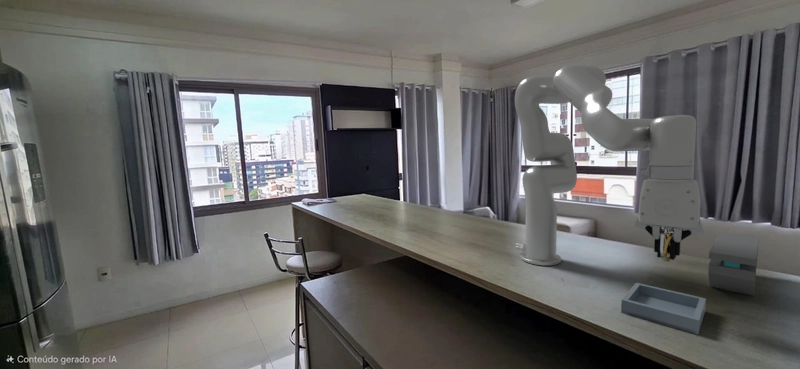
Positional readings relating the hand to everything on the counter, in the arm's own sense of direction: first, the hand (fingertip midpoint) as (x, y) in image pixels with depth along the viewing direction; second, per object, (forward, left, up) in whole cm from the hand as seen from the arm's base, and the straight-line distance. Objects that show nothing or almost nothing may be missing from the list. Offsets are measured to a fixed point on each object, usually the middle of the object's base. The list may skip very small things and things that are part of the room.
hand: (666, 256), depth 72 cm
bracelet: (0, 0, -1) cm, 1 cm away
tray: (0, 0, -13) cm, 13 cm away
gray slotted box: (+10, +30, -13) cm, 34 cm away
